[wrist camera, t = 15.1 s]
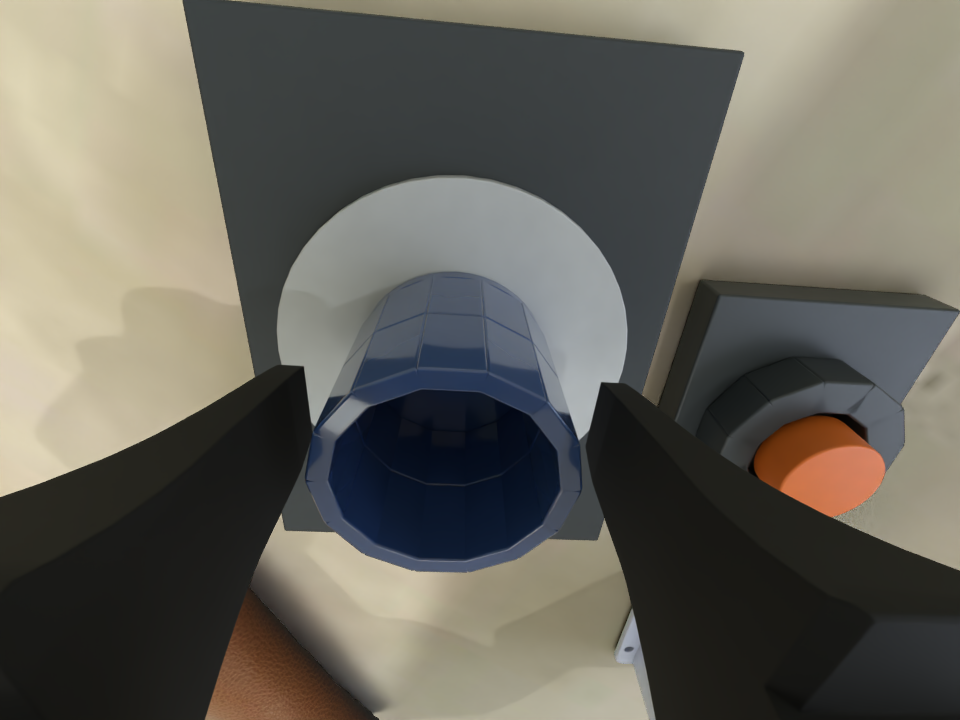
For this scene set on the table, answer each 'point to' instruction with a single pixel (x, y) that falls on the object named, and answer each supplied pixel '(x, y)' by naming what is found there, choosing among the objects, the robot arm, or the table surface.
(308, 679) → the sunglasses case
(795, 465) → the button
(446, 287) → the blue cup
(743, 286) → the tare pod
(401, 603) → the table surface
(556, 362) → the scale
